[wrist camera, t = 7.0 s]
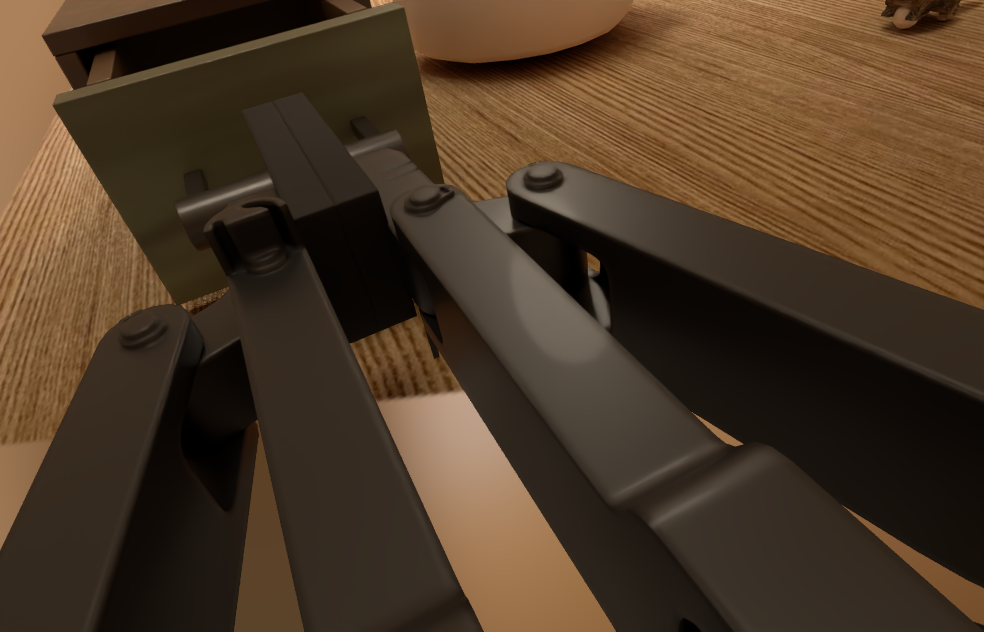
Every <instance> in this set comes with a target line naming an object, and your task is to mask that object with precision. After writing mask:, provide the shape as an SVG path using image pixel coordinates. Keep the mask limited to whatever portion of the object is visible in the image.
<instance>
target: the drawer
mask: <svg viewBox="0 0 984 632" xmlns="http://www.w3.org/2000/svg"><path fill="white" fill-rule="evenodd" d="M301 92H302V93H303V94H304V95H305V96H306V98H307V99H308V100H309V102H310V103H311V104H312V105H313V107H314V108H315V109H316V111H317V112H318V113H319V114H320V116H321V117H322V118H323V120H324V121H325V122H326V123H327V125H328V126H329V127H330V129H331V130H332V131H333V132H334V134H335V135H336V136H337V138H338V139H339V140H340V141H341V143H342V144H343V145H344V146H345V148H346V149H347V150H348V152H349V153H350V154H351V155H352V157H353V158H354V159H355V158H358V157H361V156H364V155H366V154H369V153H372V152H375V151H378V150H381V149H384V148H390V149H393V150H397V151H400V152H403V153H404V154H405V155H406V156H407V157H408V158H409V159H410V160H411V161H412V162H413V163H414V164H415V165H416V166H417V167H418V169H420V170H421V171H422V172H423V173H424V174H425V175H426V176H427V177H428V178H429V179H430V180H431V181H432V182H433V183H434V184H444V179H443V175H442V170H441V166H440V162H439V157H438V153H437V148H436V144H435V140H434V135H433V131H432V126H431V122H430V118H429V113H428V109H427V104H426V100H425V96H424V91H423V87H422V82H421V78H420V74H419V69H418V65H417V61H416V56H415V52H414V47H413V43H412V39H411V34H410V30H409V25H408V21H407V17H406V12H405V8H404V7H403V6H401V5H399V4H397V3H394V2H392V3H388V4H384V5H381V6H377V7H374V8H370V9H367V8H366V7H364V6H363V5H361V4H359V3H357V2H355V1H353V0H270V1H266V2H262V3H259V4H255V5H251V6H247V7H243V8H239V9H236V10H232V11H228V12H224V13H220V14H216V15H213V16H209V17H205V18H201V19H197V20H194V21H190V22H186V23H182V24H178V25H174V26H171V27H167V28H163V29H159V30H155V31H151V32H148V33H144V34H140V35H136V36H132V37H128V38H125V39H121V40H117V41H113V42H109V43H105V44H102V45H98V46H97V50H96V53H95V57H94V60H93V64H92V67H91V71H90V74H89V78H88V82H87V87H83V88H80V89H76V90H72V91H69V92H65V93H61V94H58V95H56V98H55V100H54V103H53V107H54V109H55V110H56V112H57V114H58V115H59V117H60V119H61V120H62V122H63V123H64V125H65V127H66V128H67V130H68V131H69V133H70V135H71V136H72V138H73V139H74V141H75V143H76V144H77V146H78V147H79V149H80V151H81V152H82V154H83V156H84V157H85V159H86V160H87V162H88V164H89V165H90V167H91V168H92V170H93V172H94V173H95V175H96V176H97V178H98V180H99V181H100V183H101V184H102V186H103V188H104V189H105V191H106V192H107V194H108V196H109V197H110V199H111V201H112V202H113V204H114V205H115V207H116V209H117V210H118V212H119V213H120V215H121V217H122V218H123V220H124V221H125V223H126V225H127V226H128V228H129V229H130V231H131V233H132V234H133V236H134V238H135V239H136V241H137V242H138V244H139V246H140V247H141V249H142V250H143V252H144V254H145V255H146V257H147V258H148V260H149V262H150V263H151V265H152V266H153V268H154V270H155V271H156V273H157V275H158V276H159V278H160V279H161V281H162V283H163V284H164V286H165V287H166V289H167V291H168V292H169V294H170V295H171V297H172V299H173V300H174V302H175V303H176V305H180V304H183V303H186V302H188V301H191V300H194V299H196V298H199V297H202V296H205V295H207V294H210V293H213V292H215V291H218V290H221V289H223V288H226V287H229V286H228V281H227V276H226V274H225V272H224V271H223V269H222V267H221V265H220V263H219V261H218V259H217V258H216V256H215V254H214V252H213V250H212V248H211V246H210V245H209V243H208V241H207V239H206V237H205V235H204V233H203V232H204V228H205V225H206V224H207V222H208V221H209V220H210V219H211V218H212V217H213V216H214V215H216V214H218V213H219V212H221V211H222V210H224V209H225V208H226V207H227V205H228V203H231V202H234V201H237V200H240V199H243V198H246V197H248V196H251V195H254V194H257V193H260V192H263V191H266V190H269V189H272V188H275V187H274V185H273V182H272V180H271V178H270V175H269V173H268V171H267V168H266V166H265V164H264V161H263V159H262V157H261V154H260V152H259V150H258V147H257V145H256V143H255V140H254V138H253V136H252V133H251V131H250V128H249V126H248V124H247V121H246V119H245V117H244V114H243V112H242V110H245V109H248V108H252V107H255V106H258V105H262V104H265V103H268V102H271V101H275V100H278V99H281V98H285V97H288V96H291V95H294V94H298V93H301Z"/></svg>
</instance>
